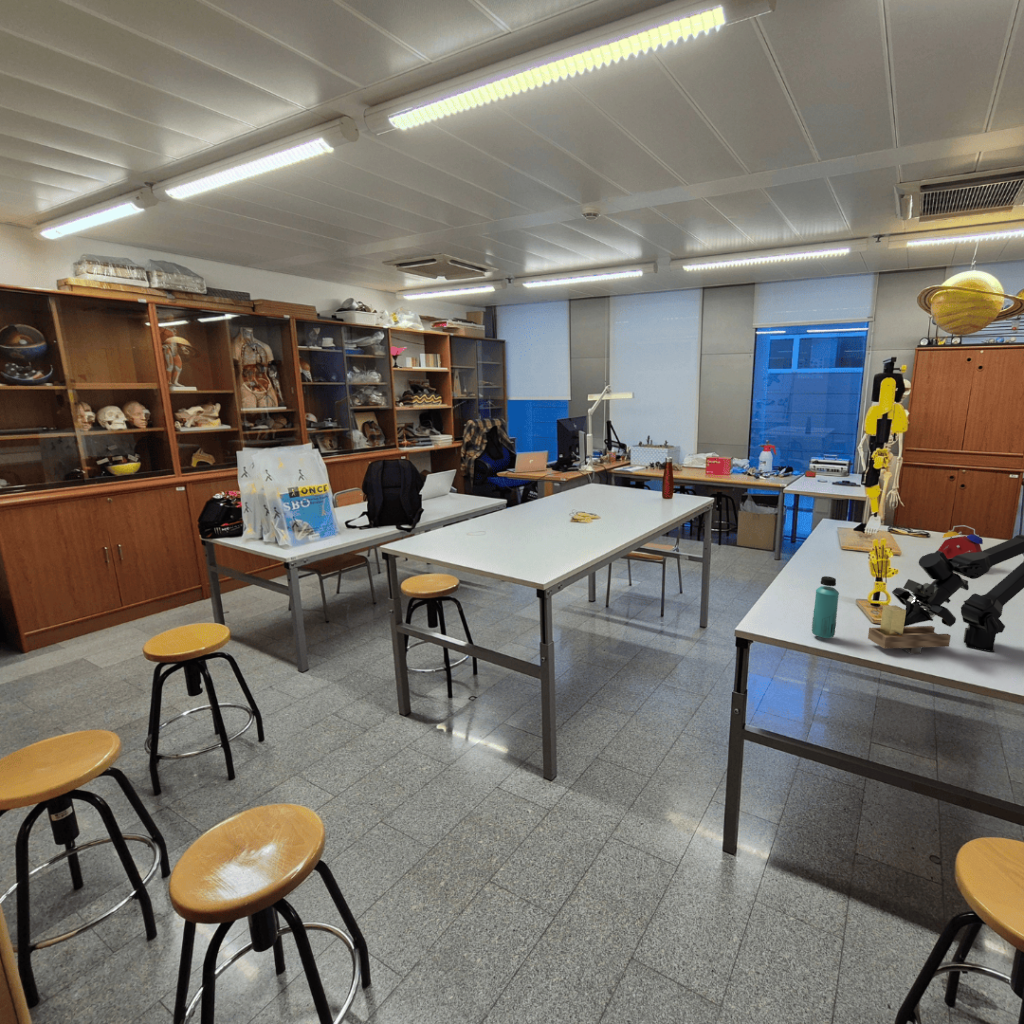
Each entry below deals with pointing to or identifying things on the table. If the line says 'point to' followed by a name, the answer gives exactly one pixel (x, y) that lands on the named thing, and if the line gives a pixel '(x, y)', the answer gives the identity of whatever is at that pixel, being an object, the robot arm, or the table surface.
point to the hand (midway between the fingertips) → (900, 625)
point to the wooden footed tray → (910, 639)
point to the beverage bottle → (825, 609)
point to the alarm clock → (960, 544)
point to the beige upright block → (892, 620)
